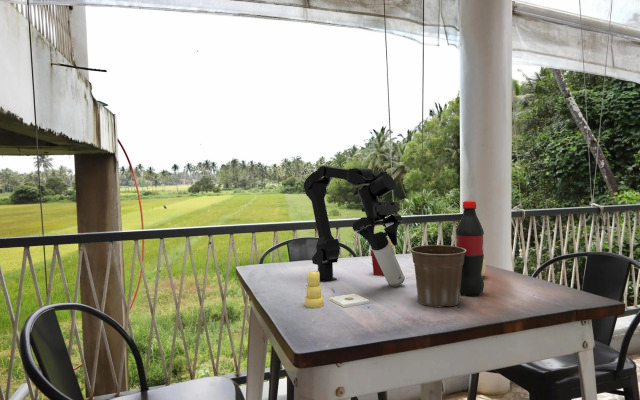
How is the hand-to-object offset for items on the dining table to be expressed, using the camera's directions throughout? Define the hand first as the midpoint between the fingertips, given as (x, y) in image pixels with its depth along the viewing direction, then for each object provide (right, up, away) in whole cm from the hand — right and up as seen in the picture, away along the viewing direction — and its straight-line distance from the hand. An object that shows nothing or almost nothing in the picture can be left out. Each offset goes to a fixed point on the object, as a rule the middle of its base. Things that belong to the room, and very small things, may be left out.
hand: (386, 247), depth 135 cm
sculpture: (+35, -14, +23) cm, 44 cm away
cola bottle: (+27, -15, 0) cm, 31 cm away
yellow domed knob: (-23, -16, -9) cm, 30 cm away
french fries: (+4, -14, +31) cm, 34 cm away
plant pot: (+14, -16, -8) cm, 23 cm away
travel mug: (+6, -13, +12) cm, 19 cm away
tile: (-12, -16, -6) cm, 21 cm away
